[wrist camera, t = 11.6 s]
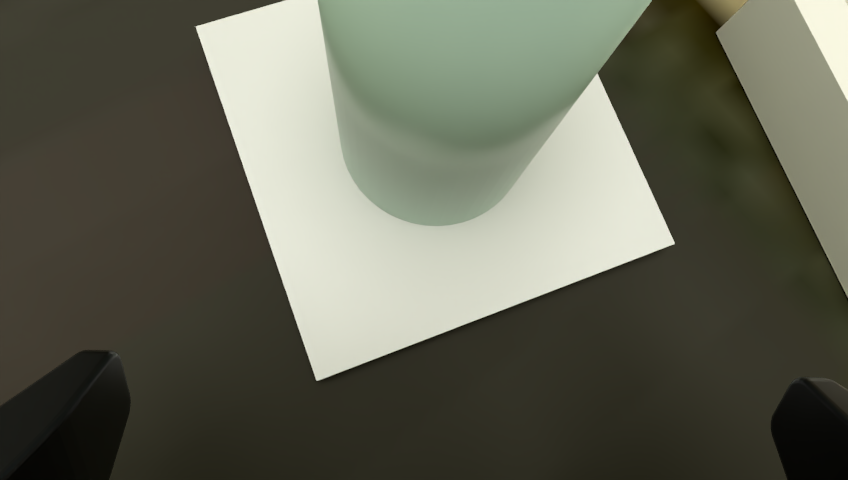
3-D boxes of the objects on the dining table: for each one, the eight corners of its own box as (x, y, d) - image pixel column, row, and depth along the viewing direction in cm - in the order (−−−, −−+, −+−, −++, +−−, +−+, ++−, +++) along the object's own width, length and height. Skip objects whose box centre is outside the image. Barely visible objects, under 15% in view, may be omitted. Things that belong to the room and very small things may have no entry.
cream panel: (661, 248, 17) (675, 243, 16) (319, 380, 16) (316, 380, 15) (525, -53, 19) (531, -71, 18) (203, 42, 17) (195, 26, 17)
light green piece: (563, 134, 17) (896, -281, 6) (439, 265, 16) (573, 46, 5) (429, 16, 17) (518, -571, 6) (301, 135, 16) (151, -321, 5)
